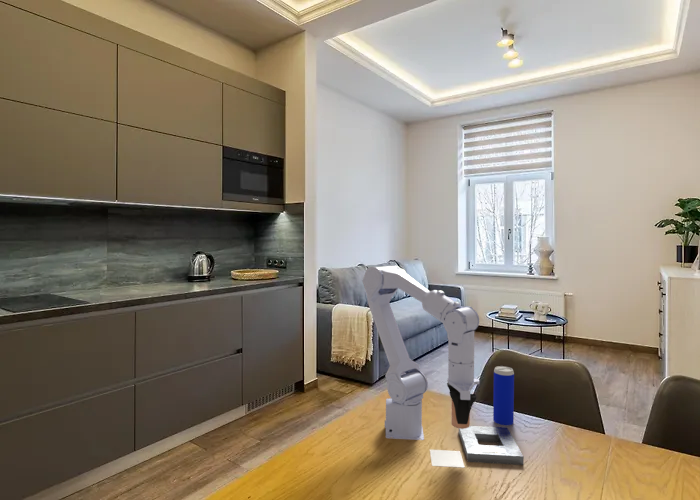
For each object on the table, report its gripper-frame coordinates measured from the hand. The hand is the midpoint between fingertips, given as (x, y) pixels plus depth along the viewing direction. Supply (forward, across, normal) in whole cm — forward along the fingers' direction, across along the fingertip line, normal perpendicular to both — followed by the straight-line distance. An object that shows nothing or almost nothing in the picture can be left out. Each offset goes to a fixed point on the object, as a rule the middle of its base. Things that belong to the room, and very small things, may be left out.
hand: (460, 419), depth 97 cm
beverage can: (+9, +19, -14) cm, 25 cm away
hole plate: (+9, +4, -7) cm, 12 cm away
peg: (+1, 0, 0) cm, 1 cm away
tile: (+9, -2, +3) cm, 10 cm away
